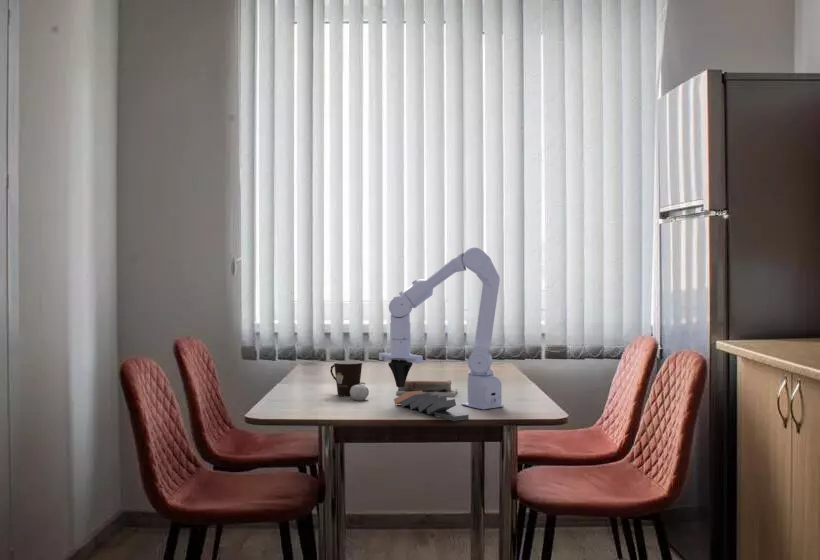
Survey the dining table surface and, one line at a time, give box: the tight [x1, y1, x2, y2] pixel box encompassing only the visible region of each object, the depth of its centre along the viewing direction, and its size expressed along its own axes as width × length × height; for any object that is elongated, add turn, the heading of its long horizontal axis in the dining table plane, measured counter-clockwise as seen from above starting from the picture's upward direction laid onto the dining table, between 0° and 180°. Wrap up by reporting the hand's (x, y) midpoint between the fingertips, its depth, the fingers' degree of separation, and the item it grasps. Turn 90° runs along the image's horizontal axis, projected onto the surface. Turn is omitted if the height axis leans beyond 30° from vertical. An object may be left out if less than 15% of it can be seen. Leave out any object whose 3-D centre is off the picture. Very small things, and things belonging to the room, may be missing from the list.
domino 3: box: [409, 395, 439, 410], centre depth 198 cm, size 2×5×8 cm
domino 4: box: [417, 396, 448, 413], centre depth 194 cm, size 2×5×8 cm
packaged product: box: [395, 378, 458, 398], centre depth 228 cm, size 18×5×10 cm
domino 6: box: [434, 409, 470, 422], centre depth 189 cm, size 2×5×8 cm
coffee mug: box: [330, 360, 363, 397], centre depth 227 cm, size 12×9×10 cm
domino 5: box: [426, 398, 457, 415], centre depth 190 cm, size 2×5×8 cm
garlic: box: [350, 381, 370, 401], centre depth 217 cm, size 6×5×5 cm
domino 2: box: [400, 393, 430, 408], centre depth 202 cm, size 2×5×8 cm
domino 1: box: [393, 390, 423, 405], centre depth 206 cm, size 2×5×8 cm
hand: (400, 386), depth 209 cm, fingers closed
